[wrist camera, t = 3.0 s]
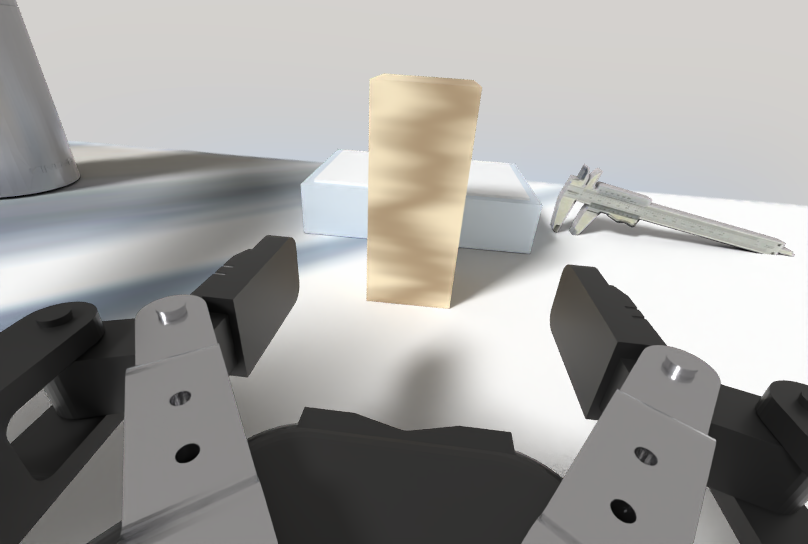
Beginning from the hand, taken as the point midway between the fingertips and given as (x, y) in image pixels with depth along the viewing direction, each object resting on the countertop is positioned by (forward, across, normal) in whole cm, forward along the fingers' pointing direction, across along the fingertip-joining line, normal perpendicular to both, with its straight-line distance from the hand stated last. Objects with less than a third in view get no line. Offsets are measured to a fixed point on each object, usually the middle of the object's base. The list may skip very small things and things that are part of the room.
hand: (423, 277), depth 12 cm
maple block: (+12, +1, +7) cm, 14 cm away
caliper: (+23, -21, +7) cm, 32 cm away
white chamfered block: (+24, +1, +7) cm, 25 cm away
